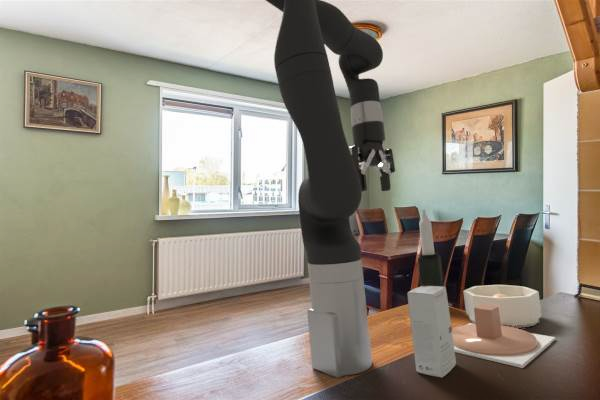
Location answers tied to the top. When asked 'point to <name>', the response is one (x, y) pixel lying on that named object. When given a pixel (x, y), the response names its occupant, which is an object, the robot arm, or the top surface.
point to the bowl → (505, 303)
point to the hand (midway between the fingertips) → (374, 191)
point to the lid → (492, 335)
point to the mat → (514, 360)
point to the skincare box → (431, 330)
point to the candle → (428, 256)
